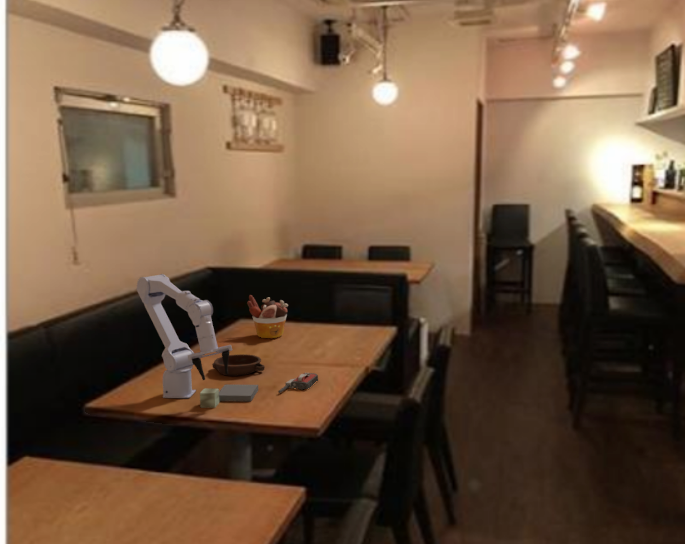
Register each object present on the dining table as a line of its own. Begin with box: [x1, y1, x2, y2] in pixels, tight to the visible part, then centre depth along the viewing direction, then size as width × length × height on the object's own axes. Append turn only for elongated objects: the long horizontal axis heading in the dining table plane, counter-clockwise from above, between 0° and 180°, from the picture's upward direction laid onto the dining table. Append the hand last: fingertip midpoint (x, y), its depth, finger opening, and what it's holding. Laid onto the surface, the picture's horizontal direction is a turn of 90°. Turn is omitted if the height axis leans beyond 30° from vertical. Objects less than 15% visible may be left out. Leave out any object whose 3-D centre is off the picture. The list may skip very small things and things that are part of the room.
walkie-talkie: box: [277, 372, 319, 394], centre depth 240 cm, size 9×4×20 cm
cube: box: [199, 387, 220, 409], centre depth 222 cm, size 5×5×5 cm
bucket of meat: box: [246, 294, 289, 339], centre depth 317 cm, size 20×16×20 cm
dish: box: [211, 353, 266, 377], centre depth 261 cm, size 18×22×5 cm
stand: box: [219, 384, 259, 402], centre depth 232 cm, size 12×12×2 cm
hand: (215, 377), depth 222 cm, fingers open, 7 cm apart
